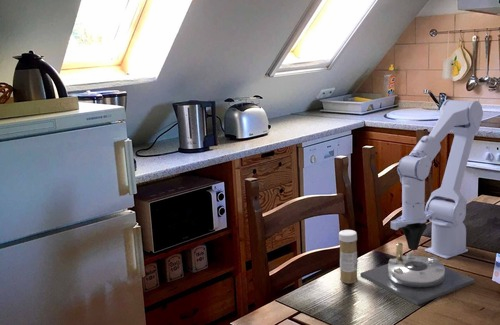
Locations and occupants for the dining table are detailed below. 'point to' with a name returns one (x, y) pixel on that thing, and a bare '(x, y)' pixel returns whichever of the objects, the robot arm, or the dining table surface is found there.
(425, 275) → the tabbed hub disc
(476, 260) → the dining table surface
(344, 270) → the sprinkles bottle
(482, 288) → the dining table surface
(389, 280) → the base plate
